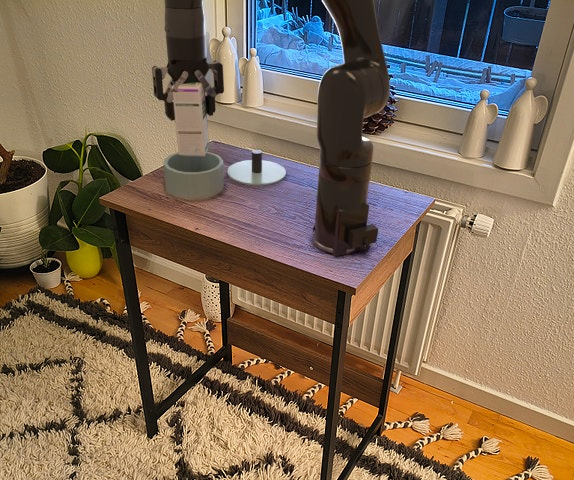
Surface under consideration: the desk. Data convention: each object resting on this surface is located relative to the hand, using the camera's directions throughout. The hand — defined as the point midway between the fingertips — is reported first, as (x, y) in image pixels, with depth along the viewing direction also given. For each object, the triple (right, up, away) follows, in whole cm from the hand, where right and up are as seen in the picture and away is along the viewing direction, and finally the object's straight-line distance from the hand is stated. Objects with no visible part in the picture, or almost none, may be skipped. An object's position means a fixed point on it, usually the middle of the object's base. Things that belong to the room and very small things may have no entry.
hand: (191, 117), depth 119 cm
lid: (+13, -8, +16) cm, 22 cm away
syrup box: (0, -6, +4) cm, 7 cm away
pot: (-1, -13, +9) cm, 16 cm away
